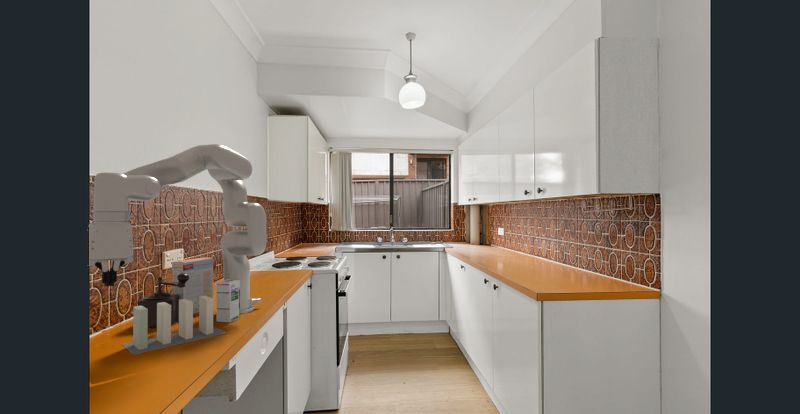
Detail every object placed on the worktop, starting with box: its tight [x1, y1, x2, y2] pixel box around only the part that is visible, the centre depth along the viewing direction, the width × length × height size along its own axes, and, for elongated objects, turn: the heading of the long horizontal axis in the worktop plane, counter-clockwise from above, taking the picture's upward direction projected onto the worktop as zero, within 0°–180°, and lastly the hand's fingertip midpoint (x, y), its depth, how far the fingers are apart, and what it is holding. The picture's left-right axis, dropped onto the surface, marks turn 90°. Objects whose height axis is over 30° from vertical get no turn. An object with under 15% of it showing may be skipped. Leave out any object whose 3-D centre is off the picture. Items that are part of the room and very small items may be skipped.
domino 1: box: [132, 305, 149, 350], centre depth 110 cm, size 2×6×11 cm, turn 48°
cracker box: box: [171, 257, 214, 317], centre depth 146 cm, size 14×6×21 cm, turn 161°
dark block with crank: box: [137, 273, 189, 329], centre depth 133 cm, size 16×11×18 cm
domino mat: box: [122, 326, 227, 355], centre depth 117 cm, size 25×12×1 cm, turn 138°
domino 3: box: [178, 299, 194, 339], centre depth 118 cm, size 2×6×11 cm, turn 48°
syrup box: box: [215, 279, 241, 323], centre depth 137 cm, size 6×6×14 cm
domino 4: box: [198, 296, 214, 335], centre depth 123 cm, size 2×6×11 cm, turn 48°
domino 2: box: [156, 302, 172, 344], centre depth 114 cm, size 2×6×11 cm, turn 48°
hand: (109, 285), depth 104 cm, fingers closed
